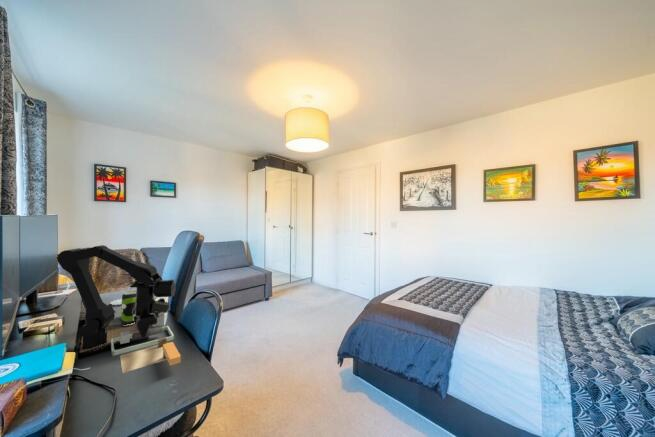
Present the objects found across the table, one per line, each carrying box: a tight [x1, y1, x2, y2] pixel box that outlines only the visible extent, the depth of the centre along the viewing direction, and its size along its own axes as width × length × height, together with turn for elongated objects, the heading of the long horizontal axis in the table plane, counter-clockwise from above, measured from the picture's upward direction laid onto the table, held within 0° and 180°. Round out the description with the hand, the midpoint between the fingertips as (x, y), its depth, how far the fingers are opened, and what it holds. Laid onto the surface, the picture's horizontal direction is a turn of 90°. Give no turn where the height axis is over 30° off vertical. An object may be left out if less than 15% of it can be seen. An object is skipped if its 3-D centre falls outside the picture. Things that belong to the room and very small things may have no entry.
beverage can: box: [120, 290, 136, 326], centre depth 114 cm, size 6×6×15 cm
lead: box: [119, 326, 164, 345], centre depth 98 cm, size 14×3×3 cm, turn 133°
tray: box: [110, 325, 175, 357], centre depth 98 cm, size 19×12×2 cm, turn 133°
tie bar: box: [163, 341, 182, 366], centre depth 83 cm, size 3×12×2 cm, turn 43°
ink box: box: [152, 297, 169, 328], centre depth 117 cm, size 8×5×12 cm, turn 25°
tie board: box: [119, 337, 172, 374], centre depth 88 cm, size 16×13×4 cm
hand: (143, 336), depth 98 cm, fingers closed on lead, 2 cm apart
